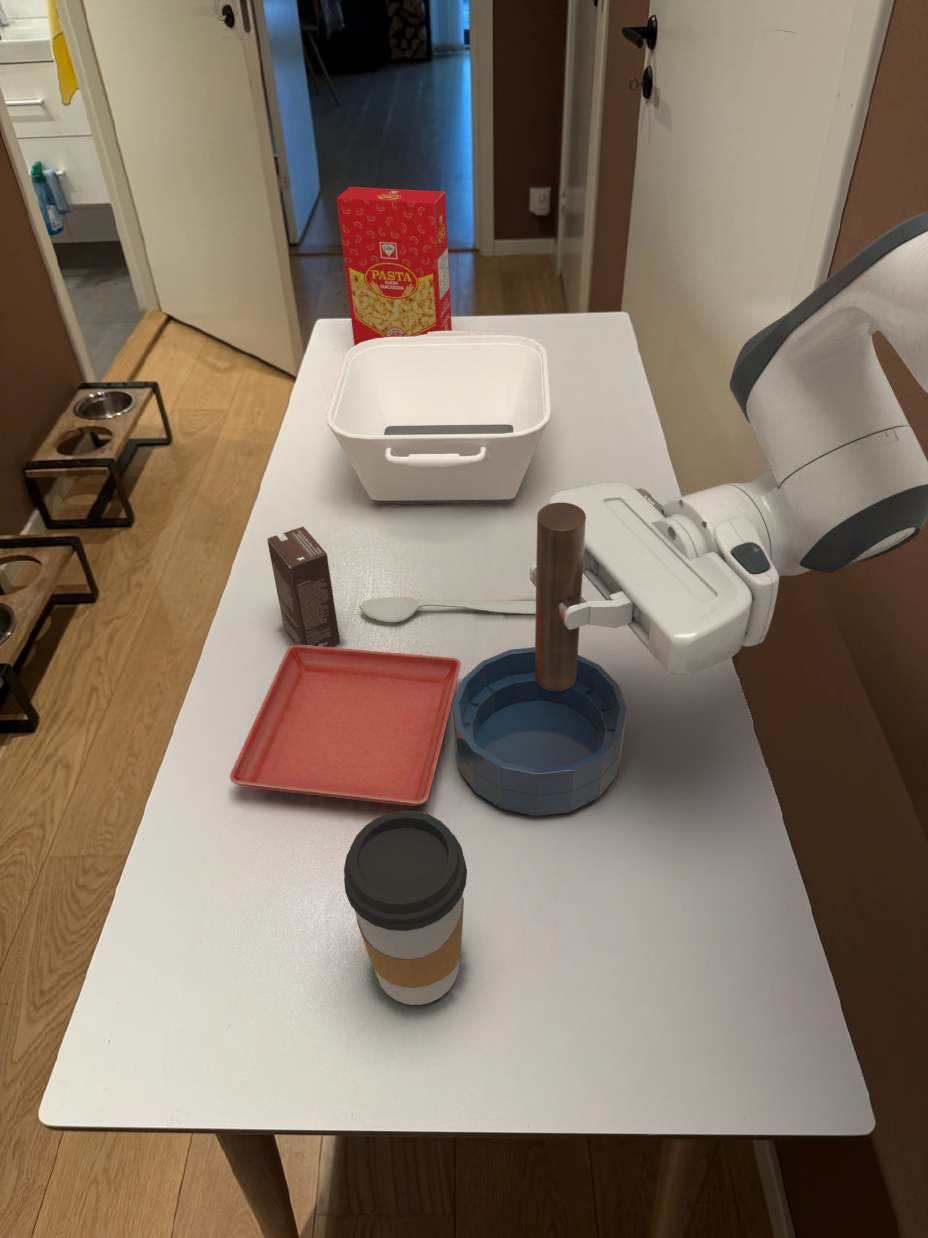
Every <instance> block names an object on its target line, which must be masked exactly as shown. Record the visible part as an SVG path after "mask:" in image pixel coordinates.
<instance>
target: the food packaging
mask: <svg viewBox="0 0 928 1238" xmlns="http://www.w3.org/2000/svg"><path fill="white" fill-rule="evenodd" d="M446 197H447V196H446V191H437V190H435V191H434V190H415V189H397V188H378V187H361V186H349V187H347V188H346V189H345V190H344V191H343V192H342V193H341V194H340V195H339V196H338V197H336V205H337V213H338V222H339V231H340V238H341V247H342V254H343V261H344V271H345V280H346V288H347V297H348V303H349V312H350V320H351V328H352V337H353V344H354V346H356V345H357V344H359V343H361V342H364V341H368V340H371V339H376V338H385V337H415V336H419V335H424V334H428V332H435V331H453V328H452V327H453V326H452V308H451V305H452V304H451V303H452V302H451V286H450V285H451V284H450V283H451V281H450V261H449V243H448V241H449V240H448V220H447V219H448V218H447V198H446ZM354 346H353V347H354Z"/></svg>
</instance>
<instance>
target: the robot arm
mask: <svg viewBox="0 0 928 1238" xmlns="http://www.w3.org/2000/svg"><path fill="white" fill-rule="evenodd" d="M878 331H879V332H880V334H882V335H883V337H884V338H885V339H886V340H887V341H888V342H889V344H890V345H891V347H892V348H893V349H894V351H895V352H896V354H897V355H898V356H899V358H900V359H901V360H902V362H903V363H904V365H905V366H906V367H907V369H908V371H909V372H910V374H912V376H913V378H914V379H915V380H916V381H917V383H918V385H919V386H920V387H921V388H922V390H923V391H924V392H925V393H926V394H927V395H928V210H926V211H923V212H920V213H918V214H916V215H913V216H911V217H909V218H907V219H906V220H903V221H901V222H899V223H898V224H897V225H895V226H893V227H891V228H890V229H888V230H886V232H884V233H882V234H880V236H878V237H876V238H875V239H874V240H873V241H872V242H870V243H869V244H868V245H866V246H865V247H863V249H861V250H860V251H859V252H857V253H856V254H855V255H854V256H852V257H851V258H850V259H849V260H848V261H847V262H845V263H844V264H843V265H842V266H841V267H839V269H837V270H836V271H835V272H834V273H832V275H830V276H829V277H828V278H827V279H825V281H824V282H822V283H821V284H820V285H819V286H817V288H815V289H814V290H813V291H812V292H810V294H809V295H807V296H806V297H805V298H804V299H802V301H800V302H799V303H798V304H797V305H796V306H794V307H793V308H792V309H791V310H790V311H789V312H787V313H786V314H784V315H783V316H781V317H780V318H778V319H776V320H775V321H773V322H772V323H770V324H768V325H767V326H765V327H764V328H763V329H761V330H760V331H758V332H757V333H755V334H754V335H753V336H752V337H750V338H749V339H748V340H747V341H745V343H744V344H743V345H742V347H741V349H740V351H739V353H738V356H737V357H736V360H735V363H734V366H733V368H732V371H731V376H730V379H729V390H730V392H731V394H732V395H733V397H734V399H735V400H736V403H737V404H738V407H739V409H740V410H741V412H742V413H743V415H744V417H745V420H746V421H747V422H748V423H749V424H750V425H751V428H752V430H753V432H754V434H755V436H756V439H757V441H758V443H759V446H760V448H761V450H762V452H763V454H764V456H765V459H766V461H767V463H768V465H769V468H770V469H769V470H766V471H764V472H761V473H759V474H758V475H757V476H755V477H753V478H752V479H751V480H749V481H747V482H727V483H723V484H718V485H715V486H712V487H709V488H705V489H701V490H699V491H698V490H697V491H696V492H693V493H692V492H691V493H689V494H686V495H682V496H679V497H675V498H672V499H670V500H668V501H667V502H666V503H664V504H663V505H662V504H661V503H659V502H658V501H657V500H655V499H654V497H653V496H652V494H651V493H649V491H647V490H646V489H644V488H638V489H637V488H636V487H633V486H632V485H630V484H628V483H626V482H620V481H619V482H618V481H612V482H610V481H609V482H602V483H594V484H589V485H583V486H579V487H578V486H577V487H574V488H569V489H565V490H561V491H558V492H556V493H554V494H553V495H552V496H551V498H550V499H549V500H548V502H547V505H549V504H552V503H559V502H563V503H570V504H574V505H576V506H578V507H580V508H581V509H582V510H583V511H584V512H585V515H586V524H585V541H584V558H583V575H584V576H585V578H586V579H587V580H588V581H589V583H591V584H592V586H593V587H594V588H595V589H596V590H597V591H598V593H599V594H600V595H601V596H602V597H603V599H604V600H586V599H584V598H583V596H582V594H581V595H577V596H574V597H572V598H571V599H565V600H563V601H561V602H560V604H559V613H558V616H559V617H560V619H561V620H562V621H563V623H564V624H565V625H566V627H567V628H568V629H570V630H571V629H575V628H578V627H579V628H581V627H583V626H587V625H588V626H595V627H604V628H605V627H606V628H615V629H617V628H620V627H623V626H626V625H627V627H628V628H629V629H630V630H631V632H632V633H633V634H634V635H635V636H636V637H637V639H639V641H640V642H641V643H642V644H643V646H644V647H645V648H646V649H647V650H648V651H649V652H650V654H651V655H652V656H653V657H654V658H655V659H656V661H657V662H658V663H659V664H660V666H661V667H662V668H663V669H664V670H665V671H666V672H668V673H671V674H675V675H676V674H678V675H684V676H685V675H686V676H687V675H691V674H695V673H698V672H701V671H704V670H706V669H709V668H711V667H714V666H716V665H719V664H720V663H723V662H724V661H727V660H728V659H730V658H732V657H734V656H735V655H737V654H738V653H739V652H740V651H741V649H742V647H752V646H753V647H754V646H756V645H757V646H758V645H759V644H762V643H763V642H764V641H765V639H766V636H767V634H768V631H769V629H770V626H771V623H772V619H773V616H774V612H775V608H776V603H777V598H778V597H777V596H778V592H779V583H780V577H793V576H798V575H802V574H805V573H808V572H810V571H815V572H821V573H828V574H831V573H834V572H836V571H839V570H843V569H845V568H849V567H852V566H854V565H858V564H860V563H861V564H862V563H864V562H867V561H870V560H873V559H875V558H879V557H881V556H884V555H886V554H888V553H891V552H893V551H895V550H897V549H899V548H900V547H903V546H904V545H906V544H907V543H909V542H910V541H912V540H913V539H915V538H916V537H917V536H918V535H919V534H920V532H921V530H922V529H923V528H924V525H925V524H926V522H927V520H928V459H927V457H926V455H925V453H924V451H923V448H922V447H921V444H920V442H919V441H918V438H917V436H916V433H915V432H914V430H913V428H912V427H911V425H910V424H909V420H907V417H906V415H905V413H904V410H903V409H902V407H901V404H900V403H899V401H898V399H897V397H896V394H895V393H894V390H893V388H892V386H891V384H890V382H889V380H888V378H887V376H886V374H885V371H884V370H883V368H882V366H881V363H880V361H879V358H878V356H877V353H876V349H875V346H874V342H873V334H875V333H876V332H878ZM536 563H537V562H535V563H533V564H532V565H530V567H529V580H530V582H531V583H532V584H533V586H534V587H535V588H536Z"/></svg>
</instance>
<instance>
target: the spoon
mask: <svg viewBox="0 0 928 1238" xmlns="http://www.w3.org/2000/svg"><path fill="white" fill-rule="evenodd" d="M423 607H445V608H446V607H447V608H461V609H467V610H475V611H481V612H489V613H496V614H498V613H499V614H514V615H515V614H516V615H517V614H518V615H536V600H506V601H505V600H498V601H497V600H495V601H494V600H488V601H487V600H485V601H482V600H481V601H479V600H477V601H476V600H475V601H474V600H473V601H472V600H471V601H469V600H467V601H460V600H458V601H456V600H455V601H453V600H451V601H450V600H449V601H448V600H432V599H419V598H414V597H410V596H409V597H408V596H389V597H376V598H369V599H366V600H364V601H363V602H361V603H360V605H359V609H360V611H361V612H362V613H363V614H364V615H366V616H368V617H369V618H371V619H375V620H377V621H382V622H384V623H399V622H402V621H405V620H406V619H408V618H410V617H411V616H413V614H415V612H416V611H418V610H419V609H421V608H423Z"/></svg>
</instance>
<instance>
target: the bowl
mask: <svg viewBox="0 0 928 1238" xmlns="http://www.w3.org/2000/svg"><path fill="white" fill-rule="evenodd" d="M627 713H628V708H627V705H626V702H625V699H624V696H623V694H622V691H621V687H620V685H619V684H618V682H616V681H615V679H613V677H611V675H610V674H609V673H608V672H607V671H606V670H605V669H604V668H603V667H602V665H600V664H598V663H597V662H594V661H592V660H591V659H588V658H586V657H584V656H582V655H580V654H578V660H577V677H576V681H575V683H574V684H573V685H572V686H571V687H570V688H568V689H565V690H562V691H551V690H547V689H545V688H543V687H541V686H540V685H539V684H538V683H537V682H536V680H535V646H534V647H533V646H532V647H522V648H513V649H512V648H511V649H508V650H506V651H503V652H501V653H498V654H496V655H493V656H491V657H489V658H486V659H484V660H482V661H481V662H479V663H478V664H477V665H476V666H475V667H474V668H473V669H472V670H471V671H469V673H467V674H466V675H465V676H464V677H463V678H462V679H461V681H460V683H459V685H458V688H457V691H456V693H455V696H454V697H453V700H452V714H453V716H452V717H453V731H454V733H453V734H454V746H455V752H456V753H455V754H456V761H457V767H458V768H457V769H458V770H459V773H461V775H462V776H463V778H464V779H465V780H466V782H467V783H468V784H469V786H470V787H471V789H472V790H473V791H474V793H476V794H477V795H479V796H480V797H482V798H484V799H485V800H487V801H488V802H490V803H492V804H493V805H495V806H497V807H498V808H500V809H502V810H506V811H510V812H515V813H521V814H525V815H530V816H535V817H536V816H537V817H538V816H546V815H555V814H563V813H571V812H573V811H575V810H577V809H578V808H580V807H582V806H585V805H587V804H588V803H590V802H593V801H595V800H597V799H598V798H600V796H601V795H602V794H603V793H604V792H605V791H606V789H607V788H609V786H610V784H611V783H612V782H613V781H614V780H615V779H616V777H617V776H618V772H619V768H620V762H621V757H622V753H623V746H624V738H625V737H624V736H625V728H626V722H627V721H626V720H627Z"/></svg>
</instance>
